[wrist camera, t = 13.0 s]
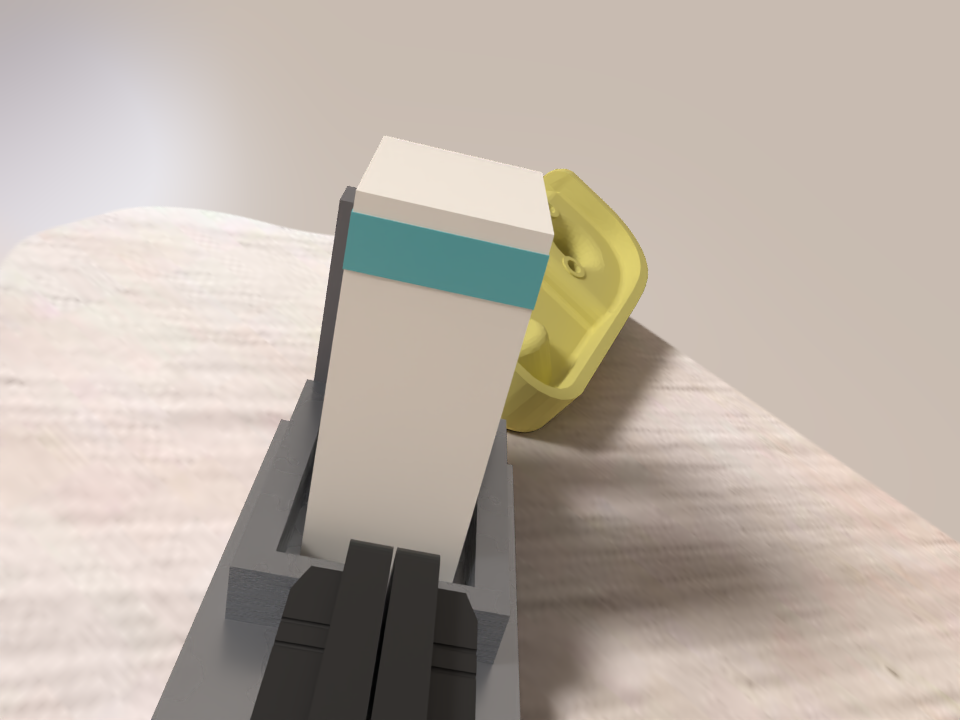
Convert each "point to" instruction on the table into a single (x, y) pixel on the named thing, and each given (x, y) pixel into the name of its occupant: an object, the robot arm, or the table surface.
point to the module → (423, 348)
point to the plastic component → (574, 302)
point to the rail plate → (278, 565)
